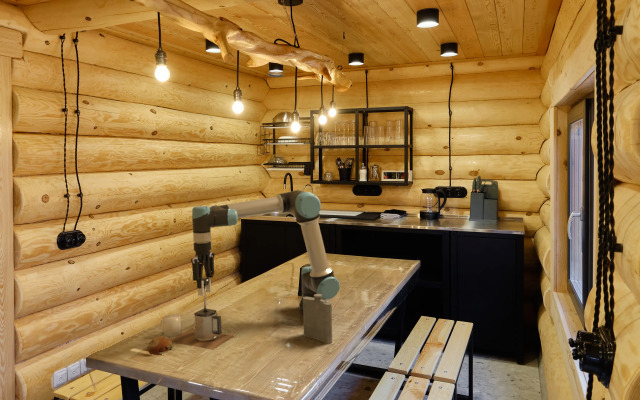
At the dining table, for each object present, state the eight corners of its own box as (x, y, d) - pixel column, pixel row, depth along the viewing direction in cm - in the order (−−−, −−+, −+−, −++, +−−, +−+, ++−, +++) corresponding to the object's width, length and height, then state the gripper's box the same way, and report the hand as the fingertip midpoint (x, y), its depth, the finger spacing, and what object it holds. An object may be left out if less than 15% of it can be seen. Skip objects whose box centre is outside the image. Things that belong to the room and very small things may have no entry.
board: (234, 338, 221) (234, 335, 221) (212, 352, 207) (212, 349, 206) (192, 330, 231) (192, 328, 231) (168, 343, 217) (168, 340, 217)
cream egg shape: (185, 334, 227) (184, 315, 226) (173, 341, 219) (172, 321, 218) (169, 331, 230) (168, 313, 229) (157, 337, 223) (156, 318, 222)
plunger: (217, 316, 221) (215, 277, 219) (207, 321, 214) (205, 282, 212) (204, 313, 224) (202, 276, 222) (194, 319, 217) (192, 280, 215)
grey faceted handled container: (227, 335, 221) (226, 310, 220) (213, 343, 212) (212, 317, 211) (204, 331, 227) (203, 306, 225) (190, 339, 218) (189, 313, 216)
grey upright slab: (302, 335, 223) (301, 292, 221) (308, 332, 226) (307, 290, 224) (329, 344, 213) (328, 299, 211) (335, 341, 216) (334, 297, 214)
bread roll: (166, 352, 216) (160, 335, 217) (180, 348, 210) (173, 330, 211) (147, 361, 208) (141, 343, 209) (160, 356, 202) (154, 337, 203)
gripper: (207, 237, 224) (210, 287, 227) (182, 244, 209) (184, 298, 211) (221, 238, 221) (223, 289, 224) (196, 246, 206) (198, 300, 208)
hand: (204, 293), depth 218 cm, fingers closed on plunger, 4 cm apart
